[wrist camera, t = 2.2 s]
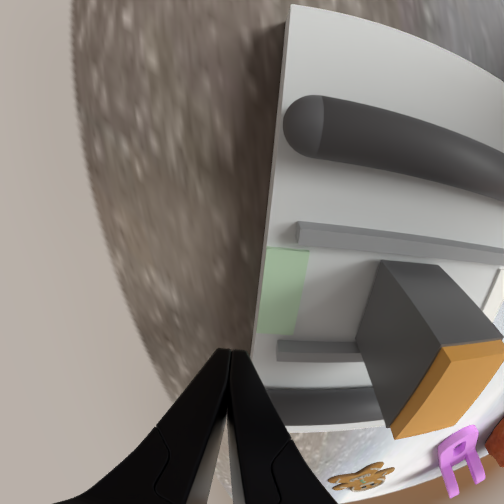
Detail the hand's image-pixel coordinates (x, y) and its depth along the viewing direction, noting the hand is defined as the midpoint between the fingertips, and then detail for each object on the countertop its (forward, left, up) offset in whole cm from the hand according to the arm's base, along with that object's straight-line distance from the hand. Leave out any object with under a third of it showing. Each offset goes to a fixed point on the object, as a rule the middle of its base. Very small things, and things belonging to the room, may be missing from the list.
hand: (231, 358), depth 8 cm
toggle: (-7, 0, -4) cm, 8 cm away
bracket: (-30, +25, -6) cm, 40 cm away
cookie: (-17, +29, -6) cm, 34 cm away
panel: (-8, 0, -6) cm, 10 cm away
